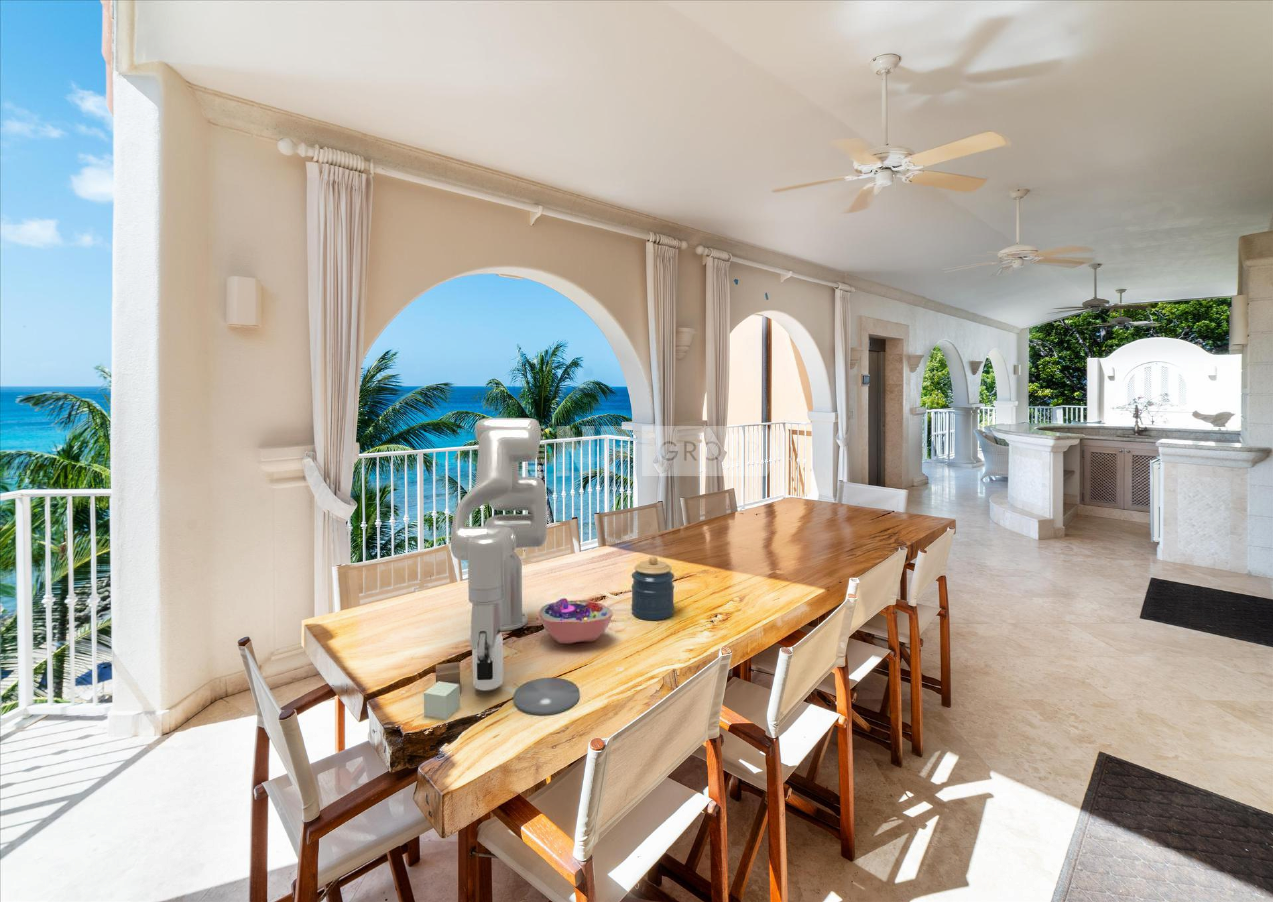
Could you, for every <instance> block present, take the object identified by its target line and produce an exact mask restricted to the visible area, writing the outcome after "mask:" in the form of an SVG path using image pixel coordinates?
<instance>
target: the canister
mask: <svg viewBox="0 0 1273 902" xmlns="http://www.w3.org/2000/svg"><path fill="white" fill-rule="evenodd" d="M633 568H634V572H632V573H631V578H632V579H633V581H632V584H631V605H630V606H631V608H630V609H631V613H632V615H633V616H634V617H636V618H637V619H641V620H644V621H645V620H646V621H662V620H666V619H669V618H671V617H672V616H673V615H674V611H675V604H674V595H675V594H674V593H675V592H674V591H675V585H674V582H673V580H674V578H675V574H674V573H673V572H672V569H673V568H672V566H671V565H669V564H668V563H666V562H665V561H663V560H658V558H657V557H656V556H655V555H652V556H650V557H649V559H647V560H643V561H641V562H639V563H638V564H636V565H635V566H634V567H633Z"/></svg>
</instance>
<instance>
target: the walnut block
mask: <svg viewBox="0 0 1273 902" xmlns="http://www.w3.org/2000/svg"><path fill="white" fill-rule="evenodd" d="M438 681H440V682H447V683H453V684H459V687H460V688H461V667H460V662H459V661H457V662H449V663H443V664H442V663H441V664H435V684H436V683H437V682H438Z"/></svg>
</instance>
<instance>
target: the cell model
mask: <svg viewBox="0 0 1273 902" xmlns="http://www.w3.org/2000/svg"><path fill="white" fill-rule="evenodd" d="M613 614H614V612H613V610H612V609H610V608H609V607H608V606H606V605H605V604H603V603H601V602H598V601H593V600H588V599H579V600H575V599H574V600H568V599H567V598H566V597H564V598H560V599H558V600H556V601H555V602H550V603H548V604H545V605H543V606H541V608H540V609H539V610H538V616H539V618H540V620H541V622H542V625H543V628H544V629H545V631H546V632H547V633H548V635H550V637H551V638H553V639H554V641H556V642H557V643H560V644H575V643H580V642H586V643H589V642H590V643H591V642H594V641H596V640H598V638H600V637H601V636H602V635H603V633H605V631H606V630H607V629H608V627H609V624H610V622H611V619H612V617H613Z"/></svg>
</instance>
